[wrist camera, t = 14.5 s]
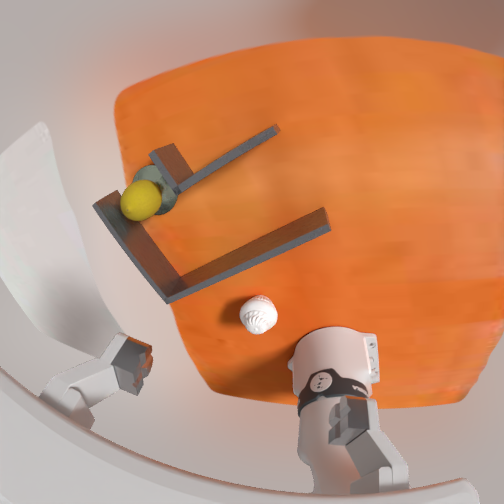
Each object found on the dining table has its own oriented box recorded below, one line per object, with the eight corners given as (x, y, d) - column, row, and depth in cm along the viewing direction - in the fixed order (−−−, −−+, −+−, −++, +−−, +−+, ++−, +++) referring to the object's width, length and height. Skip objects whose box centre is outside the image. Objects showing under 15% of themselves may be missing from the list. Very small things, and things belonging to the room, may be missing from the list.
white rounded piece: (268, 282, 45) (262, 310, 39) (285, 308, 47) (282, 337, 41) (236, 295, 47) (227, 323, 41) (255, 319, 50) (248, 348, 44)
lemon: (146, 211, 42) (120, 233, 35) (134, 179, 40) (104, 196, 33) (175, 203, 41) (151, 224, 34) (163, 169, 38) (135, 184, 31)
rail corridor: (326, 212, 38) (331, 230, 33) (179, 283, 48) (167, 304, 43) (254, 89, 31) (245, 85, 26) (113, 192, 42) (92, 205, 36)
